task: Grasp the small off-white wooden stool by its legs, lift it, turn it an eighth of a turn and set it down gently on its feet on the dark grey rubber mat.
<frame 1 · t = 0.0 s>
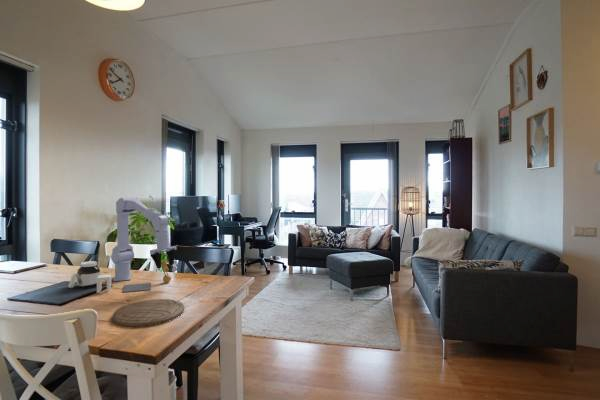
hand: (165, 266, 155), 11 cm above the table, tool pointing down, fingers open, 7 cm apart
mat: (137, 287, 154), on the table
trivet: (149, 315, 122), on the table
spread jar: (83, 287, 154), on the table
stool: (104, 290, 148), on the table
figurine: (165, 282, 165), on the table
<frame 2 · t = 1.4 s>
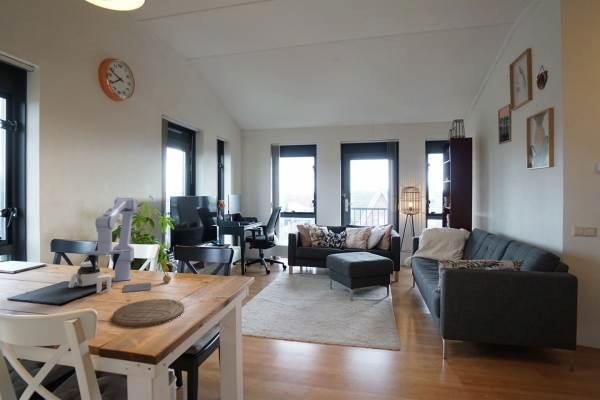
hand: (104, 270, 148), 10 cm above the table, tool pointing down, fingers open, 7 cm apart
nothing on the table moved.
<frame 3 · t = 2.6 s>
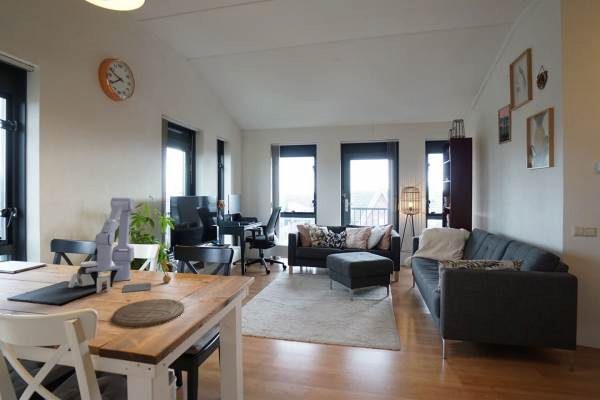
hand: (104, 286, 148), 2 cm above the table, tool pointing down, fingers closed on stool, 5 cm apart
stool: (104, 290, 148), on the table, touching gripper
everything else where it was.
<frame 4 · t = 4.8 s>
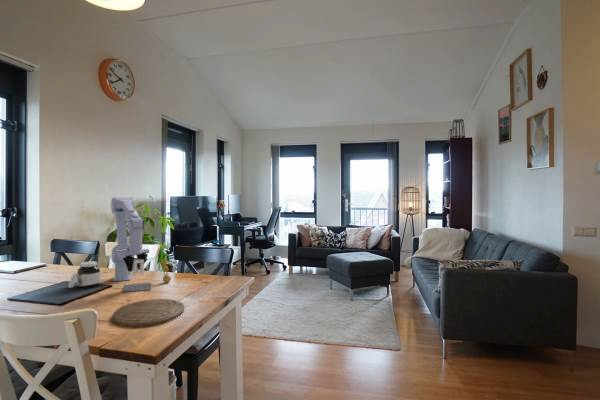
hand: (135, 270, 153), 9 cm above the table, tool pointing down, fingers closed on stool, 5 cm apart
stool: (135, 274, 153), point 7 cm above the table, touching gripper
everything else where it was.
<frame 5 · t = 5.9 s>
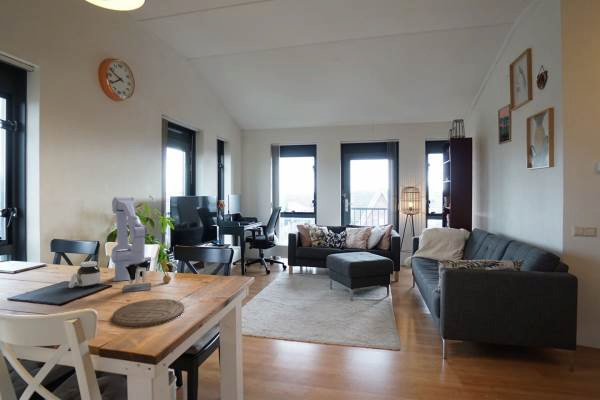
hand: (137, 278, 154), 5 cm above the table, tool pointing down, fingers closed on stool, 5 cm apart
stool: (137, 282, 154), point 3 cm above the table, touching gripper
everything else where it was.
when the fingers open (3 cm above the table, at t = 6.8 s): stool stays where it is, resting on mat.
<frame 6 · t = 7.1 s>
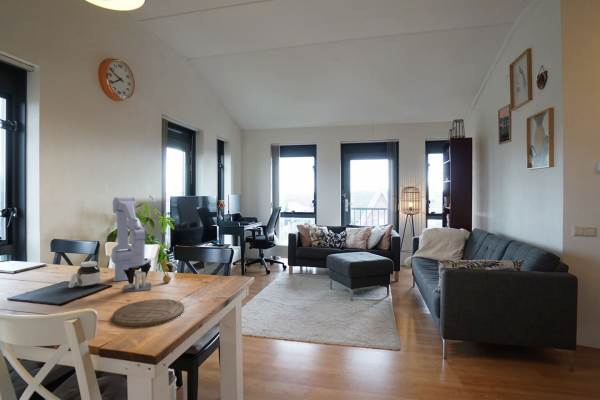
hand: (137, 281, 154), 3 cm above the table, tool pointing down, fingers open, 7 cm apart
stool: (137, 287, 154), resting on mat
everything else where it was.
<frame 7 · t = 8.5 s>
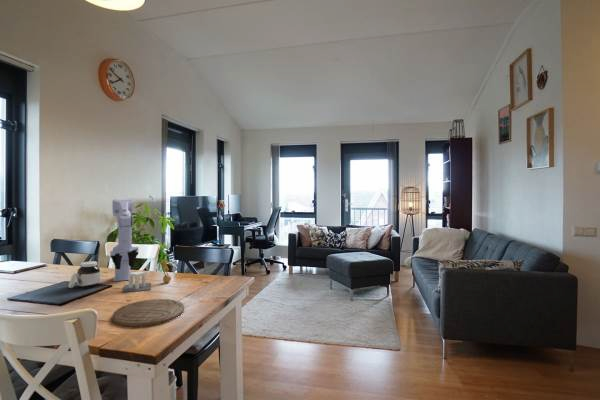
hand: (124, 267, 156), 9 cm above the table, tool pointing down, fingers open, 7 cm apart
nothing on the table moved.
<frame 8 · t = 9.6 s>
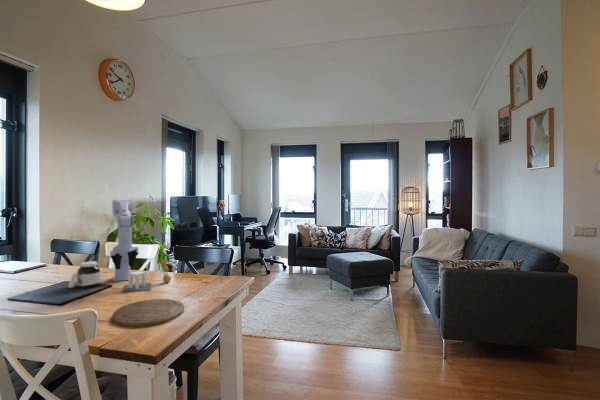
hand: (124, 267, 156), 9 cm above the table, tool pointing down, fingers open, 7 cm apart
nothing on the table moved.
at the end: stool inside the target area on the mat (0.1 cm from its centre), point 0.4 cm above the mat's base; stool tilted 0°; stool touching mat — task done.
